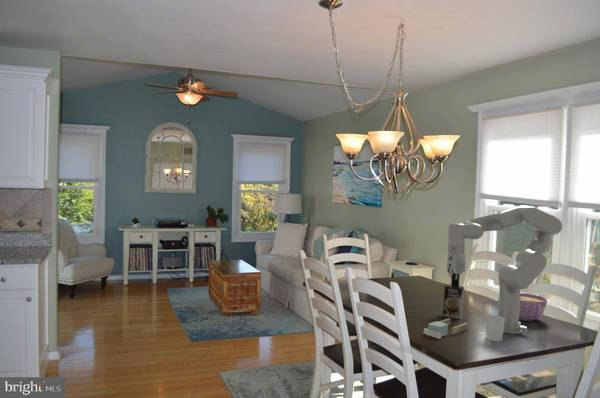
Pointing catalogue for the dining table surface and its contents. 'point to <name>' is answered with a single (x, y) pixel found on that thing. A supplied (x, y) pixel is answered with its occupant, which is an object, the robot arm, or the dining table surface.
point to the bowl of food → (531, 306)
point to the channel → (457, 328)
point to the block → (439, 327)
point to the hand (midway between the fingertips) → (455, 287)
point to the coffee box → (453, 302)
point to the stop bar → (432, 333)
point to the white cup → (494, 327)
